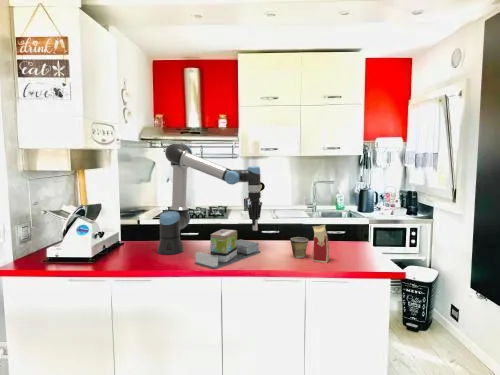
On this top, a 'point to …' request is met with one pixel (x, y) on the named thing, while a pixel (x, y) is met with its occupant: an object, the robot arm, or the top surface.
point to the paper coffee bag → (320, 245)
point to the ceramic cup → (299, 246)
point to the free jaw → (247, 246)
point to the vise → (213, 262)
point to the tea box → (224, 244)
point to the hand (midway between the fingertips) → (255, 230)
